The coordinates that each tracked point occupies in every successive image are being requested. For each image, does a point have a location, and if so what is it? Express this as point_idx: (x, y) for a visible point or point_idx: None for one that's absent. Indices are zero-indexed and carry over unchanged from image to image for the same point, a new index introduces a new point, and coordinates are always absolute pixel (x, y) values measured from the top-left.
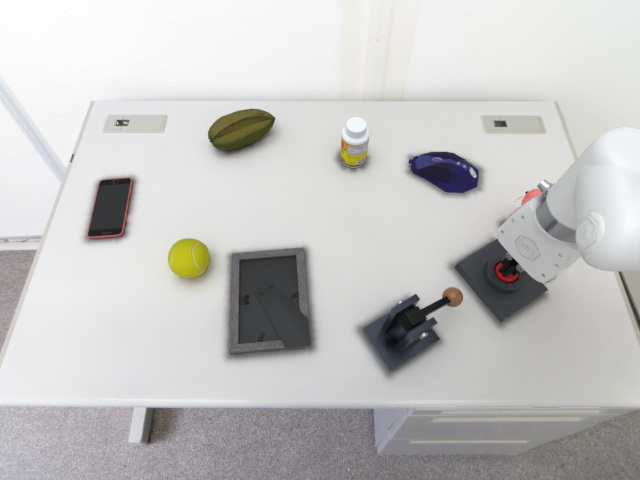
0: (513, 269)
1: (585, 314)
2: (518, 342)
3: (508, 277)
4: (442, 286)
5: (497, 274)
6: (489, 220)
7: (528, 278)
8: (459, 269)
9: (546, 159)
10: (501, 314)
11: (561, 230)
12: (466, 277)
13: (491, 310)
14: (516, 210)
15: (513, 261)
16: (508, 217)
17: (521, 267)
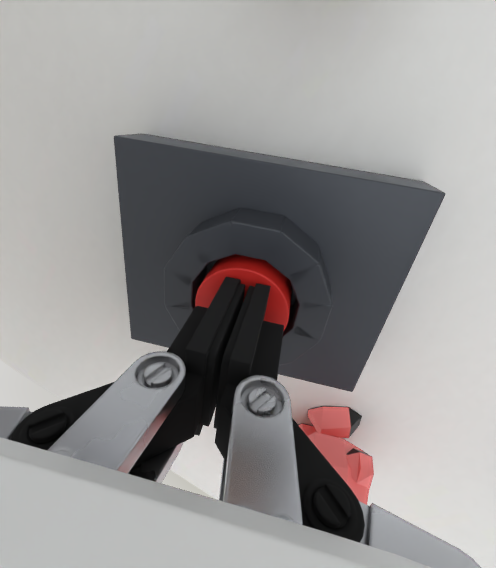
0: (191, 340)
1: (63, 336)
2: (58, 126)
3: (217, 289)
4: (423, 42)
5: (260, 269)
6: (405, 407)
7: None
8: (406, 181)
9: None
10: (136, 139)
11: None
12: (356, 173)
13: (189, 142)
14: (367, 494)
15: (225, 381)
16: (372, 460)
17: (139, 392)
